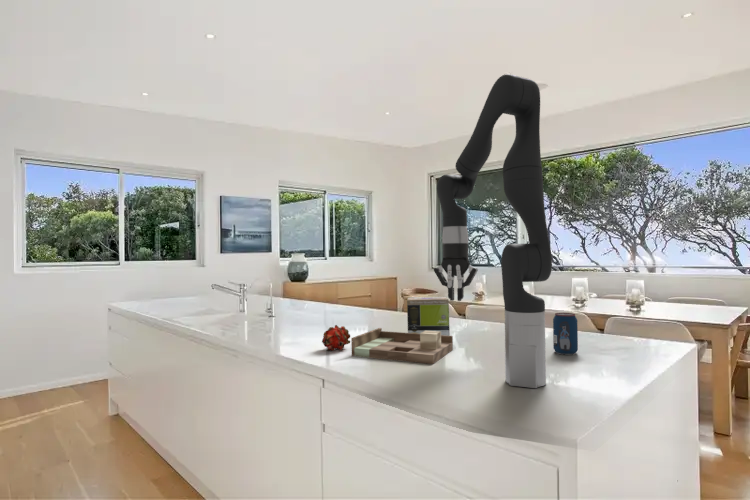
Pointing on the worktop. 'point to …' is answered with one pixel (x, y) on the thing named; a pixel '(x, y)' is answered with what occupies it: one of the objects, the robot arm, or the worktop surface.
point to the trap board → (398, 347)
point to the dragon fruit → (336, 338)
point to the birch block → (430, 339)
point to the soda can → (565, 333)
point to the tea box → (428, 314)
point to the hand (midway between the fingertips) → (455, 300)
